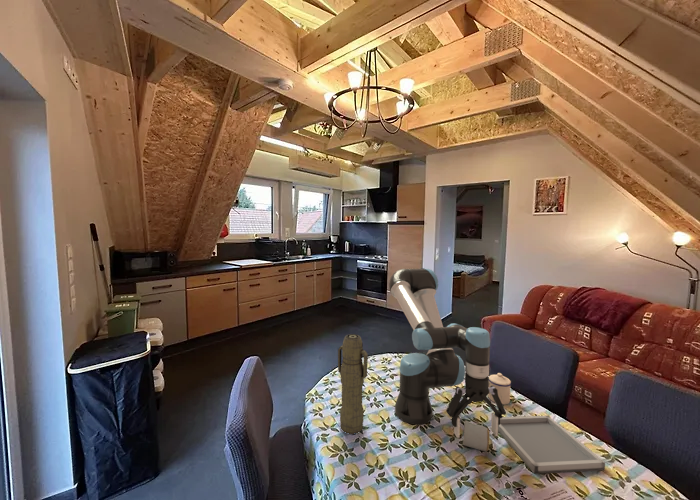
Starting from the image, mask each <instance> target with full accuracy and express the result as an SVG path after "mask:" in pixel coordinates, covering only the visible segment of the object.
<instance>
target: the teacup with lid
mask: <svg viewBox="0 0 700 500" xmlns="http://www.w3.org/2000/svg"><path fill="white" fill-rule="evenodd" d="M488 377H489V387H490V386H494V387H495V388H496V389H497V390H498V396H499V398H500V401H501V403H502V405H508V404H510V402H511V385H512V380H510V379H509V378H508V377H506V376H504V375H503V374H502V373H501V372H497V374H489V376H488ZM489 387H488V388H489ZM487 398H488V399H489V400H490V401H492V403H495V401H494V398H493V396H492V394H491V393H490V392H489V394H488V395H487Z"/></svg>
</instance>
